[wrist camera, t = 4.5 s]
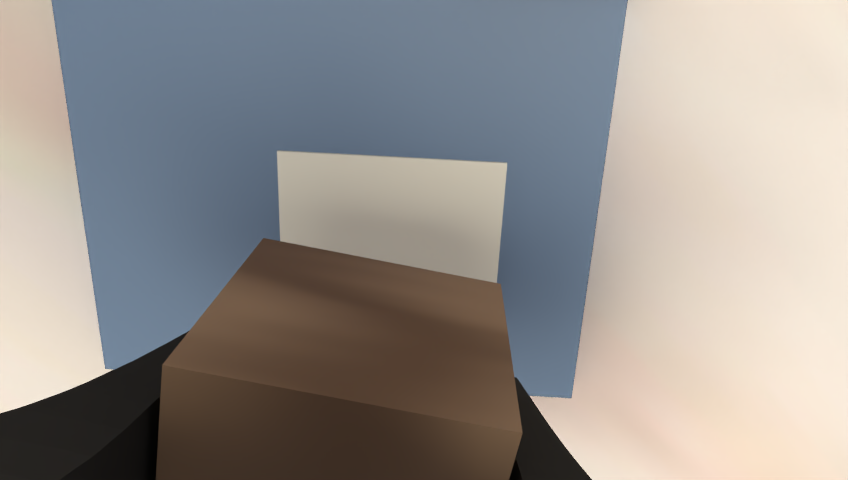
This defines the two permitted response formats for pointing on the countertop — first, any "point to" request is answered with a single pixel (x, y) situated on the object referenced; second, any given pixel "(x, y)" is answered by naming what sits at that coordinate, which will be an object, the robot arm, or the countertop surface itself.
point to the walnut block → (341, 375)
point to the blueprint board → (341, 150)
